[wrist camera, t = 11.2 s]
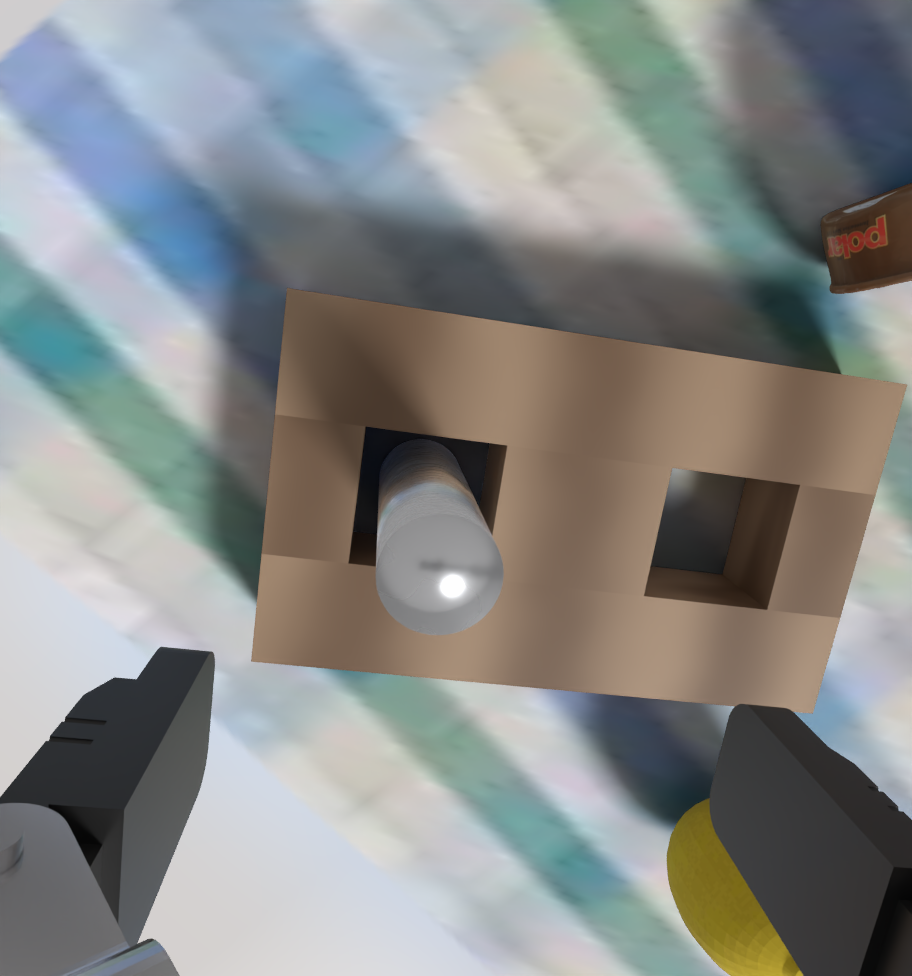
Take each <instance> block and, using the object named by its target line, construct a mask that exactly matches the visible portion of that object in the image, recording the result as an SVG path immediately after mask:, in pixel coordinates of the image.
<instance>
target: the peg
mask: <svg viewBox="0 0 912 976" xmlns="http://www.w3.org/2000/svg"><path fill="white" fill-rule="evenodd" d="M503 577H504V570H503V562H502V558H501V554H500V552H499V549H498V547H497V545H496V543H495V541H494V539H493V537H492V534H491V532H490V530H489V528H488V526H487V524H486V522H485V519H484V517H483V515H482V513H481V511H480V509H479V507H478V504H477V502H476V500H475V498H474V496H473V494H472V492H471V489H470V487H469V485H468V483H467V481H466V479H465V477H464V475H463V472H462V470H461V468H460V466H459V464H458V462H457V460H456V458H455V457H454V455H453V454H452V453H451V452H450V451H449V450H448V449H447V448H446V447H445V446H443V445H442V444H440V443H438V442H435V441H432V440H427V439H414V440H409V441H406V442H404V443H402V444H400V445H398V446H397V447H395V448H394V449H393V450H392V451H391V452H390V453H389V454H388V455H387V457H386V458H385V460H384V462H383V464H382V467H381V470H380V477H379V501H378V527H377V552H376V586H377V591H378V594H379V597H380V600H381V602H382V603H383V605H384V607H385V608H386V610H387V611H388V613H389V614H390V615H391V616H392V617H393V618H394V619H395V620H396V621H398V622H399V623H400V624H402V625H403V626H405V627H407V628H409V629H411V630H413V631H416V632H419V633H422V634H428V635H448V634H453V633H457V632H460V631H463V630H465V629H467V628H469V627H471V626H473V625H474V624H476V623H477V622H479V621H480V620H481V619H482V618H484V617H485V616H486V614H487V613H488V612H489V611H490V610H491V609H492V607H493V606H494V604H495V603H496V601H497V599H498V597H499V594H500V592H501V588H502V584H503Z"/></svg>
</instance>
